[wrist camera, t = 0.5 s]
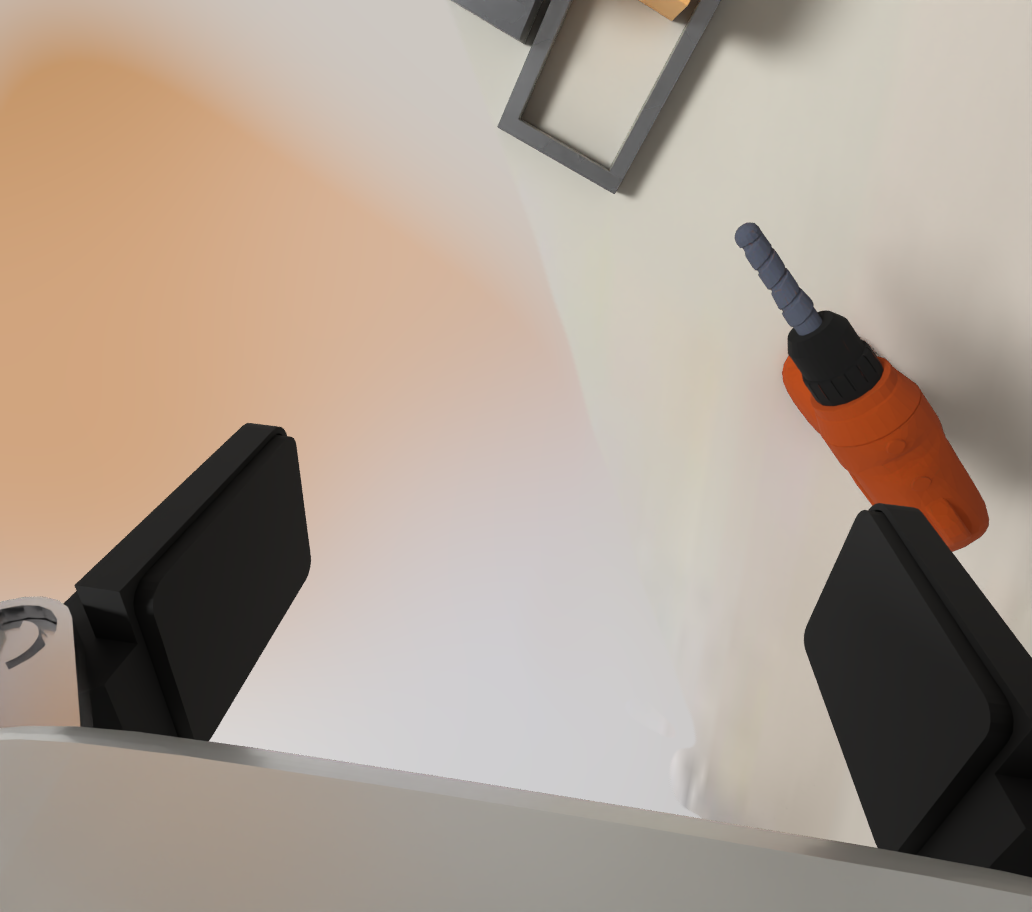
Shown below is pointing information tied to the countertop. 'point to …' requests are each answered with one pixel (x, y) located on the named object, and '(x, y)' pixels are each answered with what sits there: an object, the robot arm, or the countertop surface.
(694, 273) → the countertop surface
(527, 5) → the socket
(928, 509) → the toy drill
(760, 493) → the countertop surface
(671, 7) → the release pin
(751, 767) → the countertop surface
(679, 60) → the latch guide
